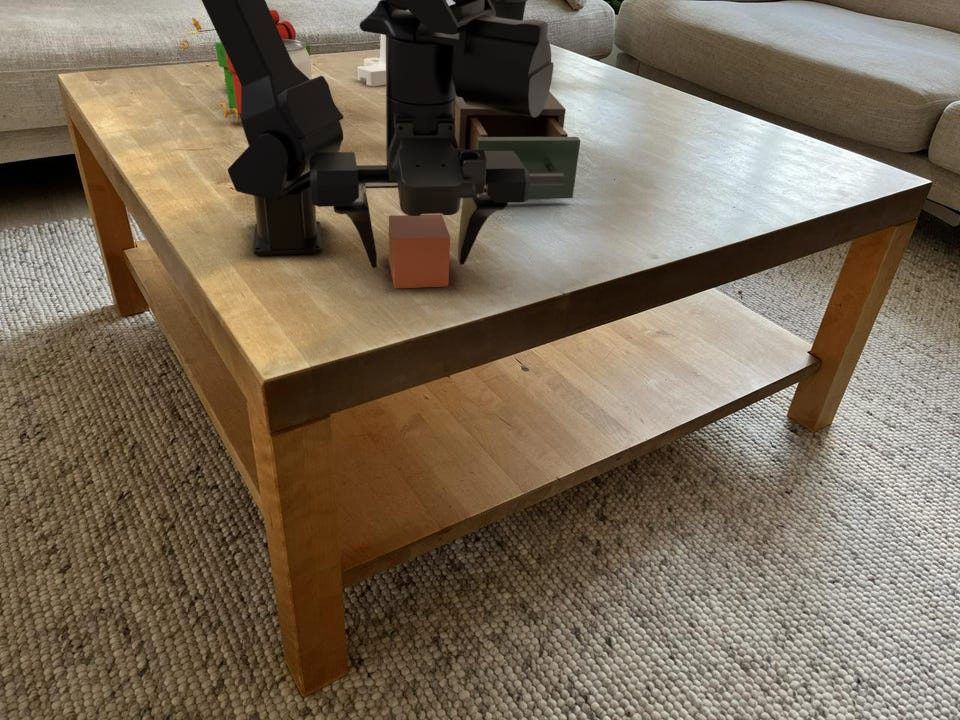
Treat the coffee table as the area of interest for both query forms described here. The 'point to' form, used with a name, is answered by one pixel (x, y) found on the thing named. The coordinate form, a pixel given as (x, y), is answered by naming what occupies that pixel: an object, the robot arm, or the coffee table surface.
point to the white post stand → (375, 67)
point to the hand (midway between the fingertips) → (418, 264)
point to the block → (419, 251)
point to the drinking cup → (509, 8)
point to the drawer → (530, 149)
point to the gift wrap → (229, 72)
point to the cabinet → (462, 110)
